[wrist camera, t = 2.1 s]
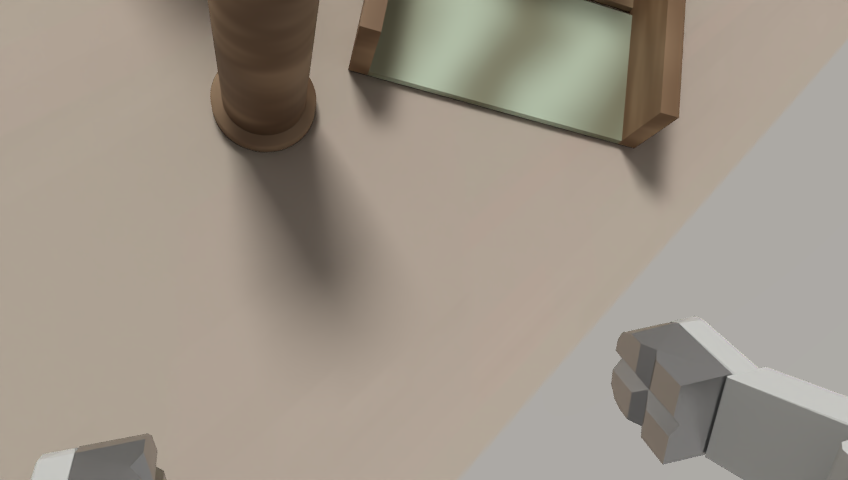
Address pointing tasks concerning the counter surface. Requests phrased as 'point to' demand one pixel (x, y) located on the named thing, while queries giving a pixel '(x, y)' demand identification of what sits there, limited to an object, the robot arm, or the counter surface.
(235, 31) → the brown wooden pepper mill
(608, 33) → the bay
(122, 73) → the counter surface
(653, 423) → the robot arm
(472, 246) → the counter surface
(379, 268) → the counter surface
